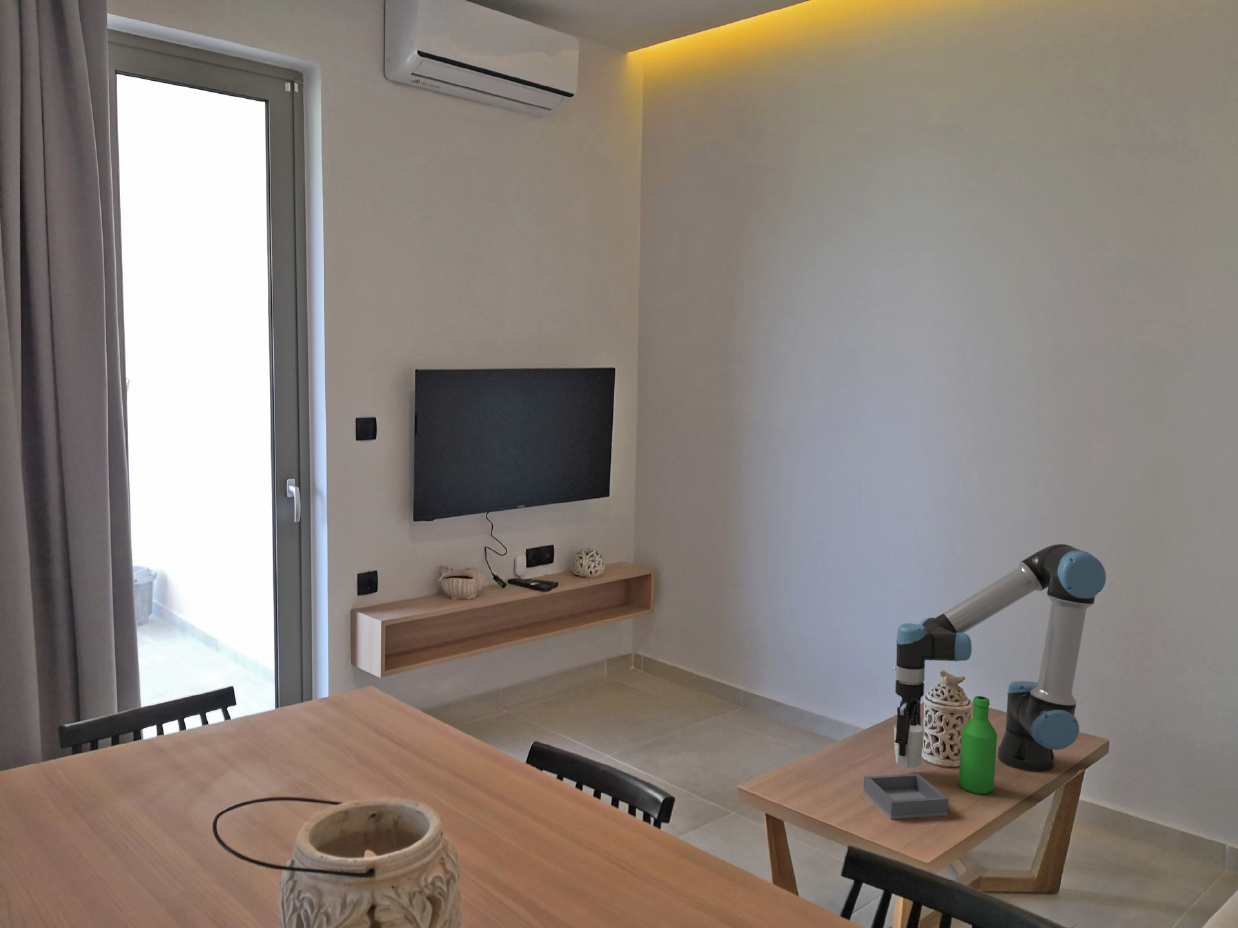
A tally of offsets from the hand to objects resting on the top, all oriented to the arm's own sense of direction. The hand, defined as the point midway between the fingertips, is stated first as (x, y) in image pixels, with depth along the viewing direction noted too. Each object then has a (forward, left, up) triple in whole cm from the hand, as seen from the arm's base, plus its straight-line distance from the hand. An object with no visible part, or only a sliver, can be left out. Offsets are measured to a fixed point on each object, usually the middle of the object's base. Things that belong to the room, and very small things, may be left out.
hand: (907, 761), depth 261 cm
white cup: (0, 0, -1) cm, 1 cm away
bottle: (-14, +11, -4) cm, 19 cm away
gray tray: (+10, +17, -4) cm, 20 cm away
